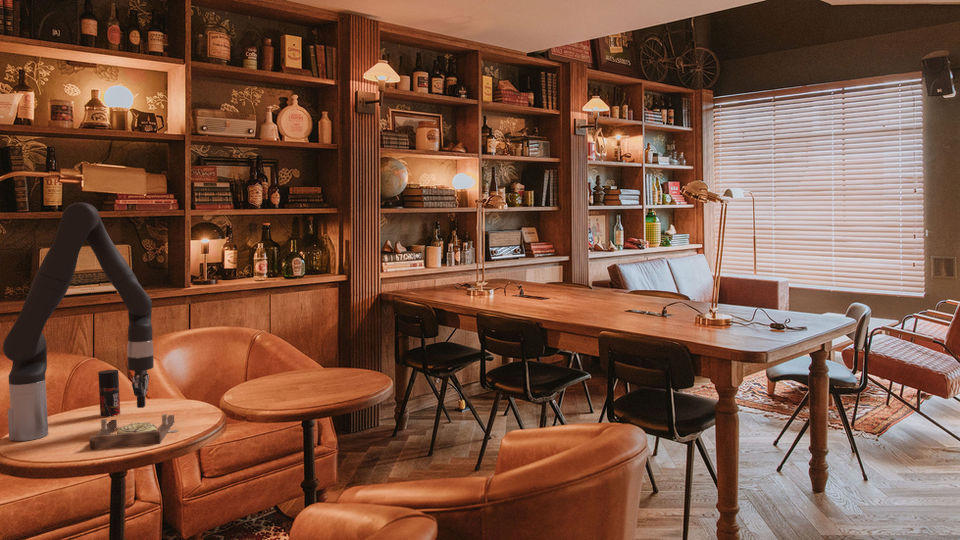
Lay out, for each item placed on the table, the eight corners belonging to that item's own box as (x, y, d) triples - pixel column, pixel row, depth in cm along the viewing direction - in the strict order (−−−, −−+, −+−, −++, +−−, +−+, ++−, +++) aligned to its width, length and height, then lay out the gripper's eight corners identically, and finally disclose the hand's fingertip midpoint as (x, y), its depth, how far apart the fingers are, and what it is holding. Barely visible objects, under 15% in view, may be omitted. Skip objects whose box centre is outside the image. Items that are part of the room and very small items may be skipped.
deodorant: (107, 412, 229) (105, 369, 228) (123, 412, 228) (121, 369, 227) (96, 417, 223) (94, 373, 222) (113, 417, 222) (111, 373, 222)
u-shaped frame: (78, 450, 188) (77, 431, 188) (101, 428, 210) (100, 411, 209) (171, 442, 195) (170, 424, 194) (184, 421, 216) (183, 405, 216)
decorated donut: (132, 445, 193) (132, 432, 193) (109, 440, 198) (109, 428, 198) (164, 435, 202) (163, 423, 202) (141, 430, 207) (141, 418, 207)
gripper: (132, 351, 217) (133, 402, 218) (122, 358, 205) (123, 413, 206) (157, 350, 219) (158, 401, 220) (148, 357, 207) (149, 412, 208)
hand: (141, 407), depth 213 cm, fingers closed
